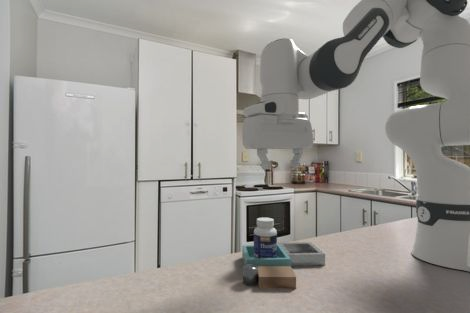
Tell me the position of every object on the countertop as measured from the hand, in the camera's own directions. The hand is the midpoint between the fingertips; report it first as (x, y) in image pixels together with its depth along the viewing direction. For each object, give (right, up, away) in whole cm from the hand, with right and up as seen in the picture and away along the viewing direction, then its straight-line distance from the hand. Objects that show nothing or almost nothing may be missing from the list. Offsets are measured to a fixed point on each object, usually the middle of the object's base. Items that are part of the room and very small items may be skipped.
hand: (281, 168), depth 61 cm
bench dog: (-8, -22, -10) cm, 26 cm away
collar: (+5, -23, +3) cm, 23 cm away
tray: (-4, -22, -1) cm, 23 cm away
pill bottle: (-4, -22, -1) cm, 22 cm away
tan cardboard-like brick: (-3, -23, -10) cm, 25 cm away
